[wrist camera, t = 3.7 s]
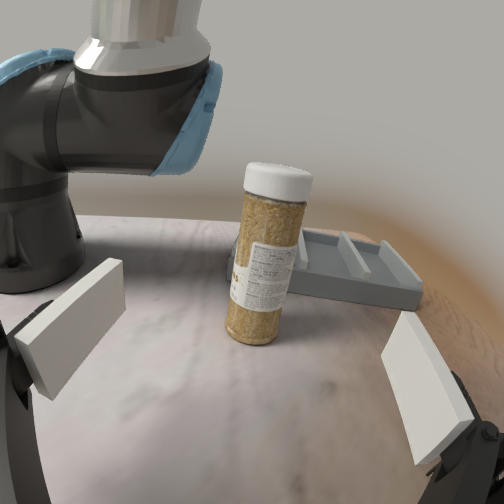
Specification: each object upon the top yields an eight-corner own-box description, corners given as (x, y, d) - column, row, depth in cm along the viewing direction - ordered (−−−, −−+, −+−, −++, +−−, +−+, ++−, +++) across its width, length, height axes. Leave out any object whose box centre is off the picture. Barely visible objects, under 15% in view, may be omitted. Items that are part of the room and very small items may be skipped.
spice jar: (226, 311, 26) (248, 158, 21) (276, 318, 26) (307, 168, 21) (221, 344, 21) (246, 163, 16) (279, 350, 22) (320, 176, 17)
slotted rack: (226, 280, 31) (230, 249, 30) (244, 235, 46) (248, 213, 45) (415, 311, 30) (426, 284, 29) (379, 260, 45) (385, 240, 44)
